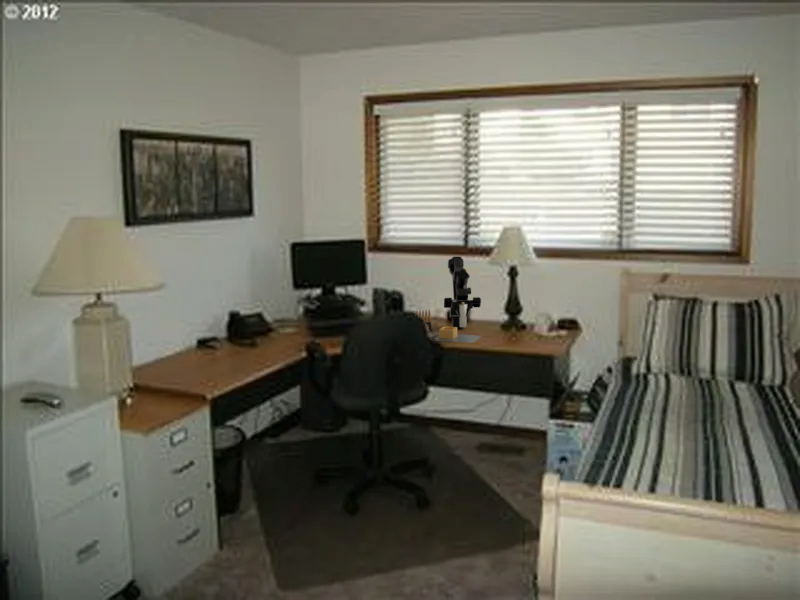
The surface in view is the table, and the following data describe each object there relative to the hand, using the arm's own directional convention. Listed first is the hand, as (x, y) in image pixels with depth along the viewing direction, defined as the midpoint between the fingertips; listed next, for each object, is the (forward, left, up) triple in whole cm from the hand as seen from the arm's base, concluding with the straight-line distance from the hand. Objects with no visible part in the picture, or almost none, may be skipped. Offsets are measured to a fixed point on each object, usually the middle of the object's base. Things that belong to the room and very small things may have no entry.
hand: (463, 316), depth 354 cm
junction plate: (-3, -4, -13) cm, 14 cm away
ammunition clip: (-16, -28, -13) cm, 35 cm away
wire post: (-1, 0, -6) cm, 6 cm away
